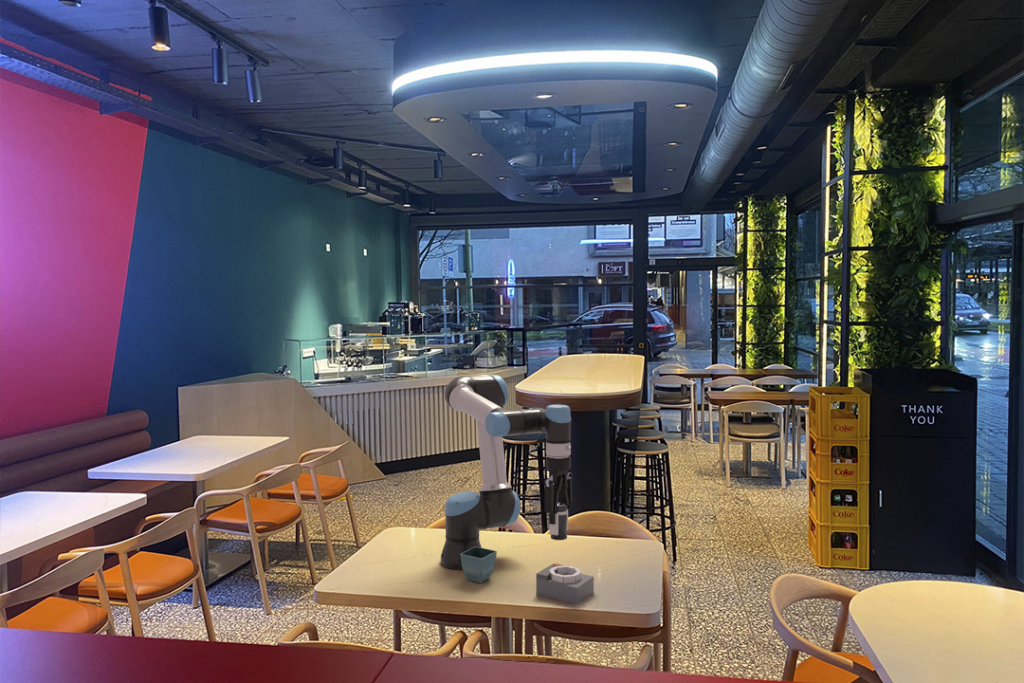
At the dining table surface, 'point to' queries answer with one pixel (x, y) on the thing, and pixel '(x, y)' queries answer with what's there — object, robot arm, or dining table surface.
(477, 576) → the flower pot
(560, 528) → the lens
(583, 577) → the camera body
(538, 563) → the dining table surface
